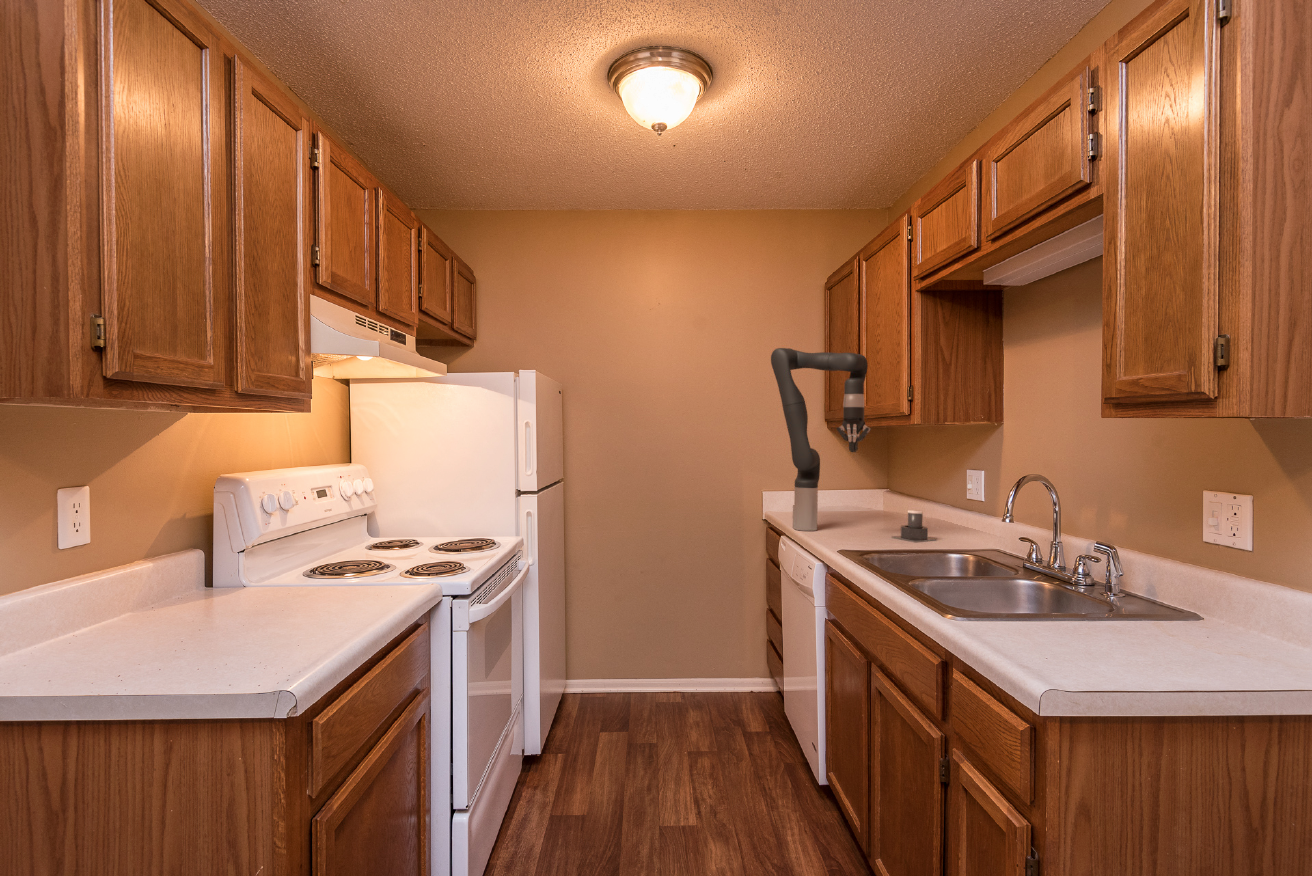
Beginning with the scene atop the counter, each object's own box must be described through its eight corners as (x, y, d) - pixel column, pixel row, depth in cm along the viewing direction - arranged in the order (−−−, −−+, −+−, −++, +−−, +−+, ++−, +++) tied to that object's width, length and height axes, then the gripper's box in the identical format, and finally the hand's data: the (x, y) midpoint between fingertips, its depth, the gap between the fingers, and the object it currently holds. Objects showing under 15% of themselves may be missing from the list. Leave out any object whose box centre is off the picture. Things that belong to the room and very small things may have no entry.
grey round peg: (904, 537, 234) (904, 510, 233) (914, 536, 236) (914, 509, 236) (915, 539, 229) (915, 512, 229) (925, 538, 231) (926, 511, 231)
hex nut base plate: (891, 537, 235) (891, 525, 235) (912, 535, 240) (912, 524, 240) (915, 542, 225) (915, 529, 225) (936, 540, 230) (936, 528, 230)
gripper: (874, 406, 235) (874, 452, 235) (840, 407, 243) (840, 451, 243) (867, 405, 229) (866, 453, 229) (833, 406, 237) (832, 452, 237)
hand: (853, 452), depth 236 cm, fingers closed
